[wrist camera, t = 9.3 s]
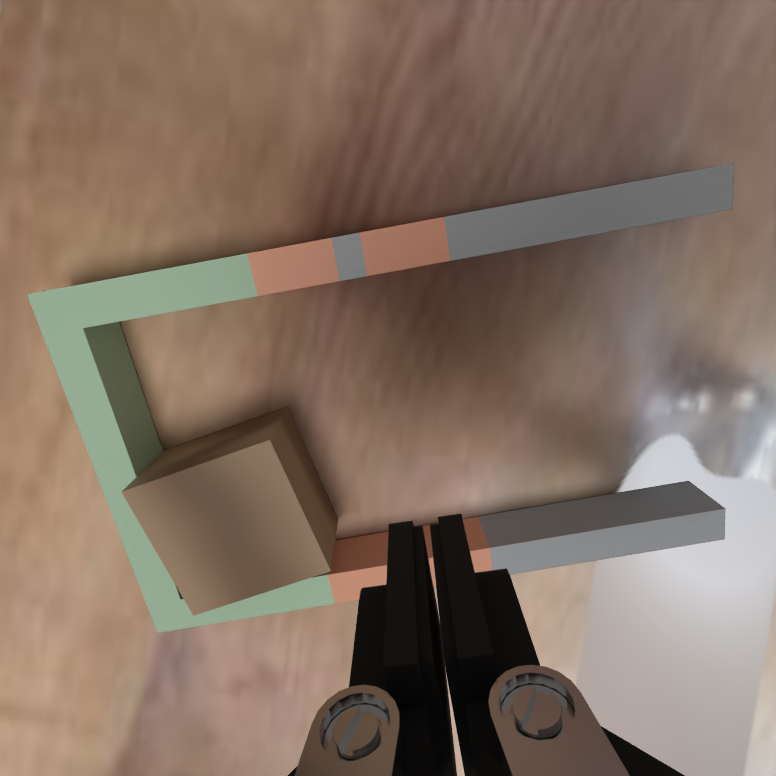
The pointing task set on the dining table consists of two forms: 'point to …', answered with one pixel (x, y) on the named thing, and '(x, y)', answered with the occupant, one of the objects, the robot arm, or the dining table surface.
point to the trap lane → (343, 262)
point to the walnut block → (236, 512)
